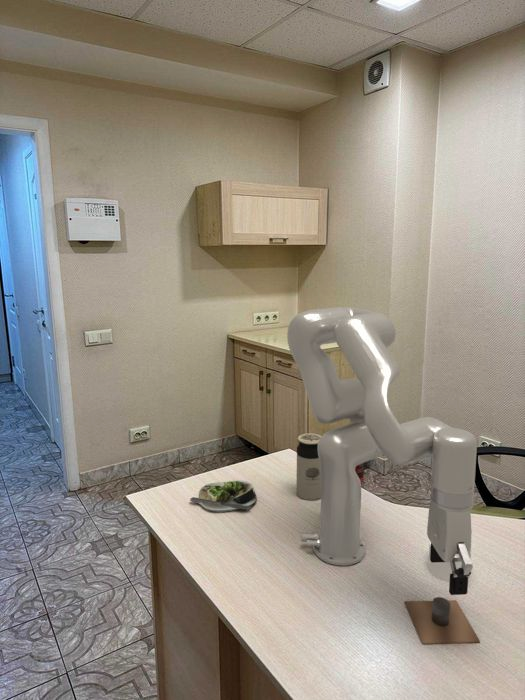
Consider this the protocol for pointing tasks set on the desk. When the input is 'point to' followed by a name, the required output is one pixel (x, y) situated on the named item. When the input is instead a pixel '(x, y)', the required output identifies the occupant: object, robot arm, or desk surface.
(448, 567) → the white cylindrical piece
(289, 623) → the desk surface
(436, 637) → the lid
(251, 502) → the salad plate
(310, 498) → the travel mug
